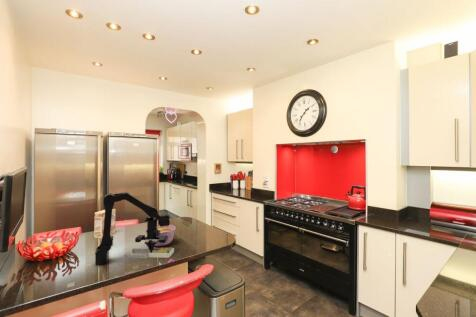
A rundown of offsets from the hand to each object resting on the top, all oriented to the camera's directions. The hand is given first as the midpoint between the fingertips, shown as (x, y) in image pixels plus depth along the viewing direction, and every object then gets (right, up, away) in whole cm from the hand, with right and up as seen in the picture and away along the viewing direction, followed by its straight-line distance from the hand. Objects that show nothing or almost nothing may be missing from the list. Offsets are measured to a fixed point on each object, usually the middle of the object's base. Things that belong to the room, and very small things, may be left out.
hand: (151, 252), depth 142 cm
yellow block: (+7, -1, 0) cm, 7 cm away
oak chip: (+3, -1, 0) cm, 3 cm away
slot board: (-7, -2, 0) cm, 7 cm away
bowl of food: (-1, -2, +18) cm, 19 cm away
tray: (+6, -2, 0) cm, 7 cm away
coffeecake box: (-50, -2, +37) cm, 62 cm away
